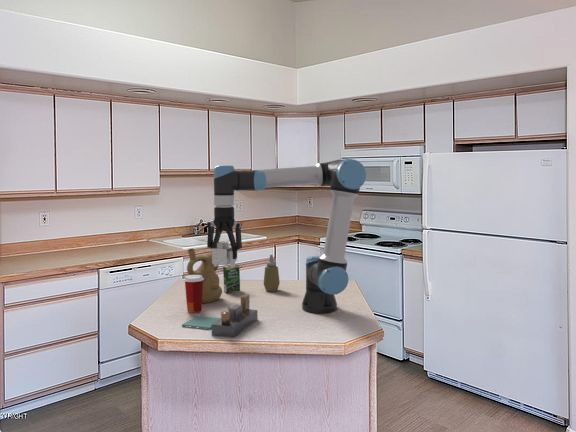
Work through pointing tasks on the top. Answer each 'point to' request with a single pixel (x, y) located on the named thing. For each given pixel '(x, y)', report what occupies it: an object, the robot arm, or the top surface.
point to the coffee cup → (194, 292)
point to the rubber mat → (201, 322)
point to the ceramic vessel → (205, 276)
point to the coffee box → (231, 279)
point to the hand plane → (235, 319)
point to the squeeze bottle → (271, 276)
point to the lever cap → (221, 253)
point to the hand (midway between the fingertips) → (224, 266)
